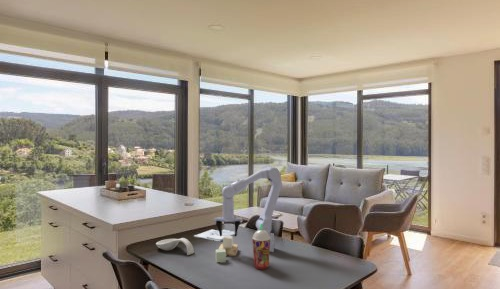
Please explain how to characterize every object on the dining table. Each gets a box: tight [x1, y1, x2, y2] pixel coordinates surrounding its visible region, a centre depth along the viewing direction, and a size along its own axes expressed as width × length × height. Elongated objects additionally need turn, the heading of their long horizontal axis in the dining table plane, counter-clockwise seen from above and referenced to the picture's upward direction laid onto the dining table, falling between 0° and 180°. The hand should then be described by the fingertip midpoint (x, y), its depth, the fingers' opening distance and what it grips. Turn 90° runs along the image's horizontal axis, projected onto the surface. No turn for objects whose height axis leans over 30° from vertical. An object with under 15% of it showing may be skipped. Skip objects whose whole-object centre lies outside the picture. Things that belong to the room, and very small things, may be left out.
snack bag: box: [193, 229, 235, 242], centre depth 210 cm, size 19×20×2 cm
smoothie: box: [251, 224, 271, 270], centre depth 157 cm, size 8×8×20 cm
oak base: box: [218, 243, 239, 257], centre depth 178 cm, size 9×9×3 cm
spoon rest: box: [155, 237, 195, 256], centre depth 182 cm, size 24×12×7 cm, turn 56°
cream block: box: [222, 236, 234, 248], centre depth 177 cm, size 4×4×5 cm
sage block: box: [215, 248, 227, 263], centre depth 166 cm, size 4×4×5 cm
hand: (228, 235), depth 178 cm, fingers open, 7 cm apart
